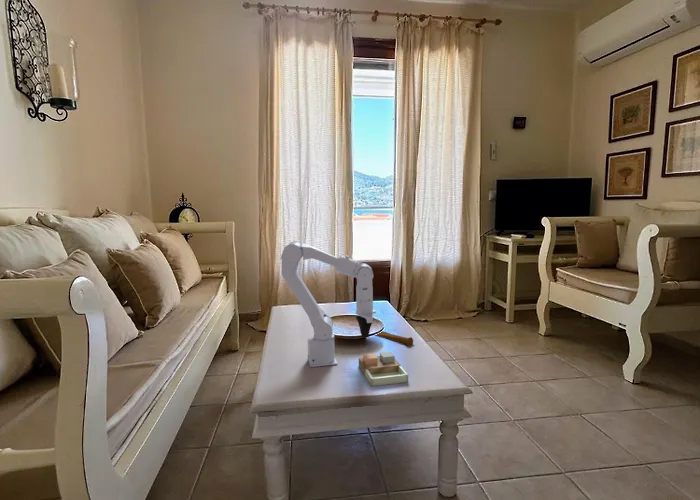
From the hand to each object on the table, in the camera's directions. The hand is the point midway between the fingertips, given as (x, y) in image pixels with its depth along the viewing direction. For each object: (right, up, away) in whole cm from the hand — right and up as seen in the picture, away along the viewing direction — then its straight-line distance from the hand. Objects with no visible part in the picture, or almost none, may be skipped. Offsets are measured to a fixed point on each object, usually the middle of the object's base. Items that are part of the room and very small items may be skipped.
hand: (364, 336), depth 139 cm
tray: (+6, -11, -13) cm, 18 cm away
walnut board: (+5, -10, -5) cm, 12 cm away
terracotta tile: (+2, -7, -6) cm, 9 cm away
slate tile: (+7, -7, -5) cm, 11 cm away
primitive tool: (+12, -7, +23) cm, 27 cm away
